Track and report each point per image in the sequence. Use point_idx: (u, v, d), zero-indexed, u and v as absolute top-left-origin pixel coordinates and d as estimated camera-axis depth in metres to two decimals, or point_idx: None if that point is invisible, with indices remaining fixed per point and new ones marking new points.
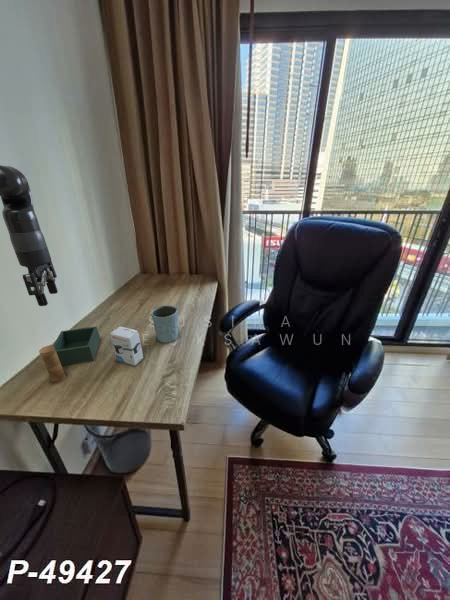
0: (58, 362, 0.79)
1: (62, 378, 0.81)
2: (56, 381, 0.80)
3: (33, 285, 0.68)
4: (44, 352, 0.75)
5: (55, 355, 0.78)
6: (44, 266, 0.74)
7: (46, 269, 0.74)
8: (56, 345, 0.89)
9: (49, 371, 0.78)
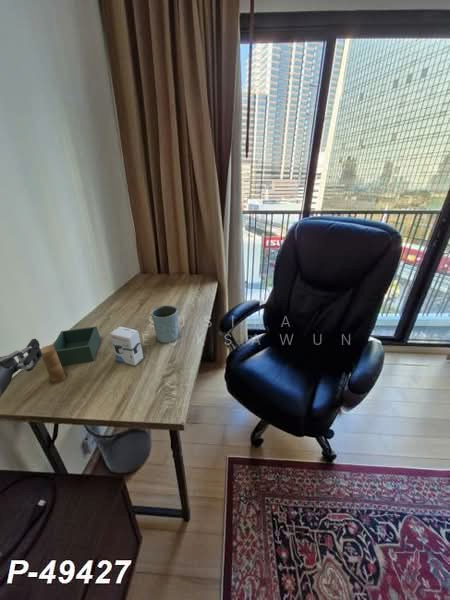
0: (58, 362, 0.79)
1: (62, 378, 0.81)
2: (56, 381, 0.80)
3: None
4: (44, 352, 0.75)
5: (55, 355, 0.78)
6: None
7: None
8: (56, 345, 0.89)
9: (49, 371, 0.78)
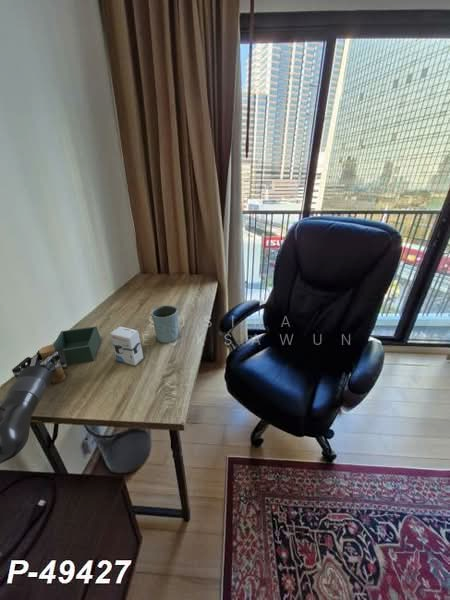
0: None
1: (62, 378, 0.81)
2: (56, 381, 0.80)
3: None
4: (44, 352, 0.75)
5: None
6: None
7: None
8: (56, 345, 0.89)
9: None
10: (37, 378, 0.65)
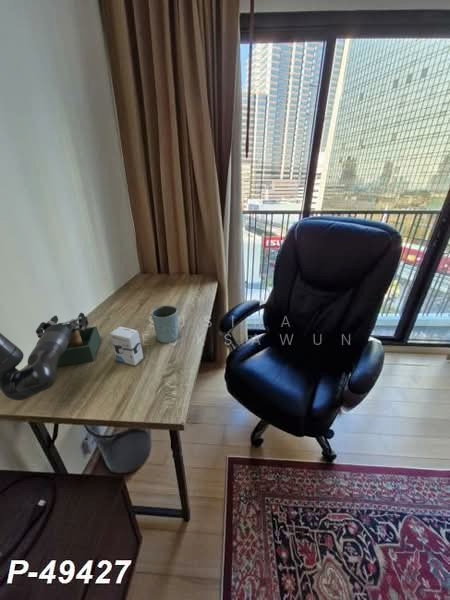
0: (79, 335, 0.91)
1: None
2: None
3: None
4: None
5: None
6: None
7: None
8: None
9: (71, 343, 0.90)
10: (61, 333, 0.75)
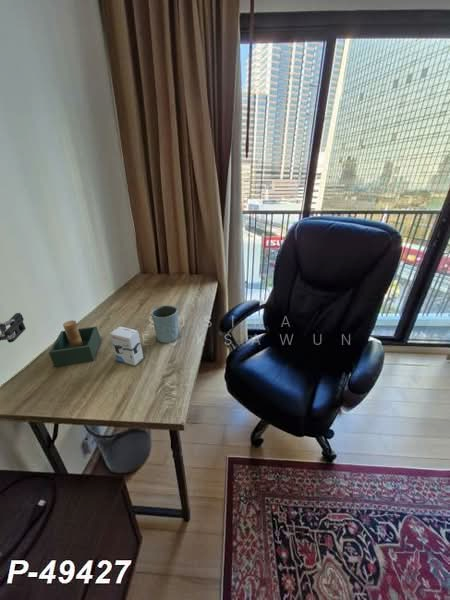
0: (79, 335, 0.91)
1: None
2: None
3: None
4: (67, 325, 0.87)
5: (76, 329, 0.90)
6: None
7: None
8: (56, 345, 0.89)
9: (71, 343, 0.90)
10: None
